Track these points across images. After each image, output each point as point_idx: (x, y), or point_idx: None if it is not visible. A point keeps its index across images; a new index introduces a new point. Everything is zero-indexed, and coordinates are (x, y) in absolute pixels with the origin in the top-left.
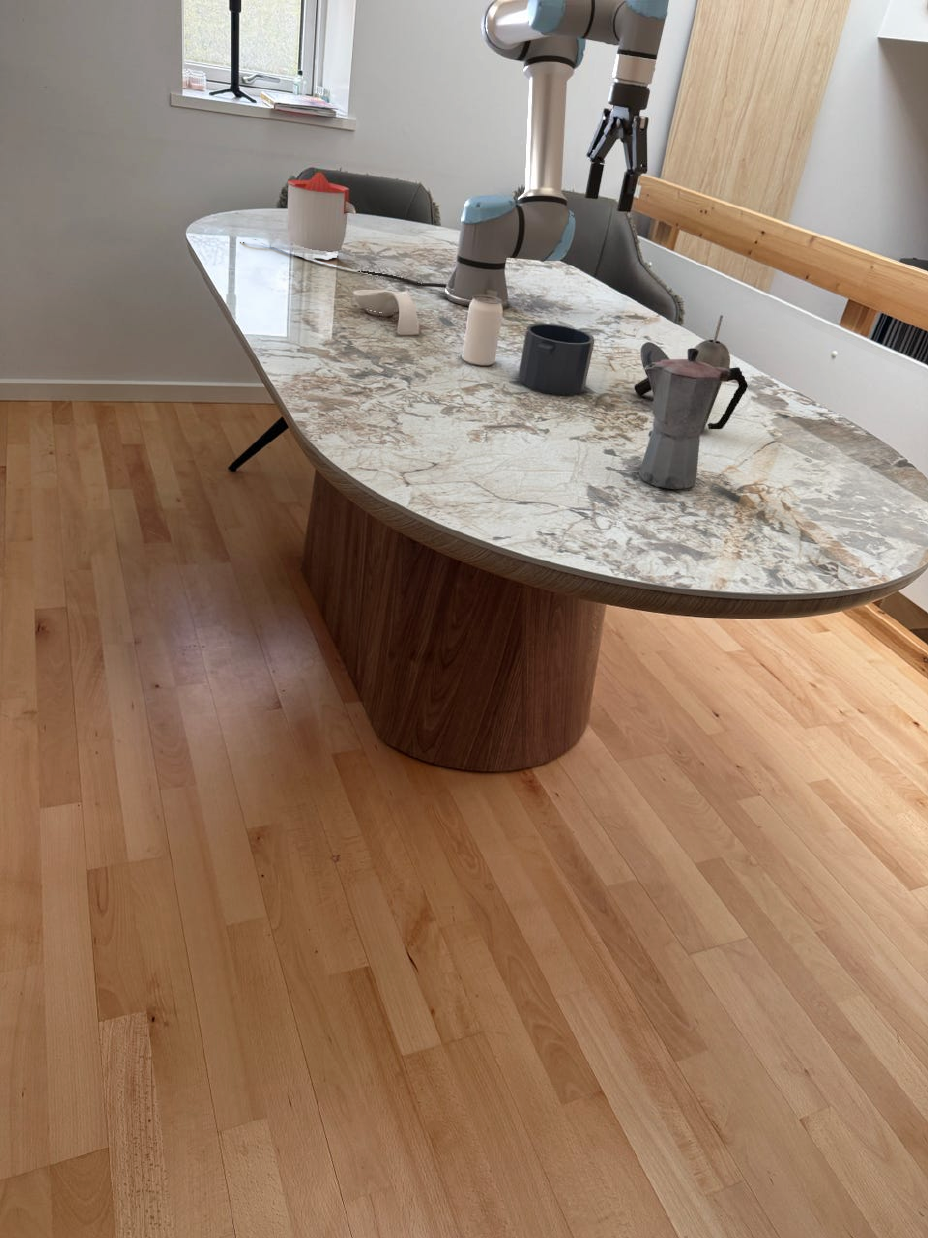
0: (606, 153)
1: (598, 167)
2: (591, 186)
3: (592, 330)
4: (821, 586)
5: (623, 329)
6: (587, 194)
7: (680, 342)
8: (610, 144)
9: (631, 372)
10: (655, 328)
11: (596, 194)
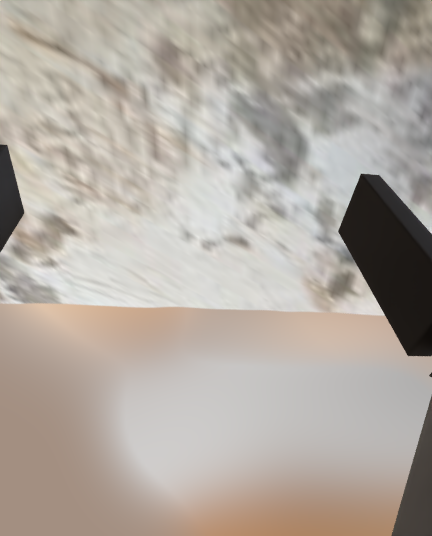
0: (426, 414)
1: (415, 310)
2: (376, 220)
3: (292, 163)
4: None
5: (288, 228)
6: (365, 184)
7: (214, 281)
8: (412, 491)
9: (19, 74)
10: (284, 283)
11: (347, 232)
